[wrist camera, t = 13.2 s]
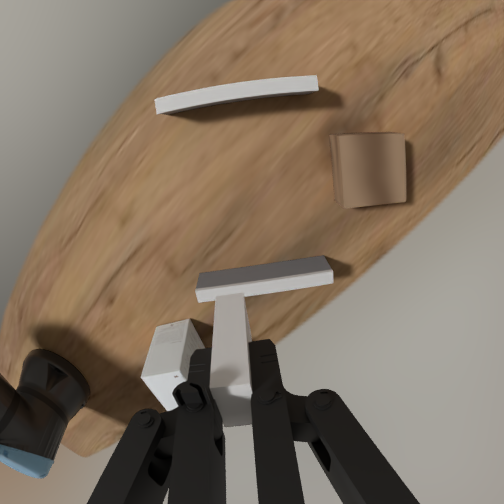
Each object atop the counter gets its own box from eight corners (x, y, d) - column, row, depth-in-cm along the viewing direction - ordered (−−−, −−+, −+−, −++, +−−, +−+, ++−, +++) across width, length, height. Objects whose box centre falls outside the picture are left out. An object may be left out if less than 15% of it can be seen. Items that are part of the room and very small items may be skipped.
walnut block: (333, 199, 36) (344, 208, 32) (328, 134, 33) (338, 135, 29) (391, 193, 36) (406, 201, 32) (388, 131, 32) (404, 133, 29)
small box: (156, 325, 42) (138, 376, 32) (190, 317, 42) (179, 370, 32) (178, 363, 45) (168, 414, 36) (211, 356, 45) (206, 410, 35)
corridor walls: (202, 283, 39) (198, 302, 35) (165, 101, 30) (154, 99, 26) (324, 266, 39) (333, 283, 35) (307, 81, 30) (316, 75, 26)
